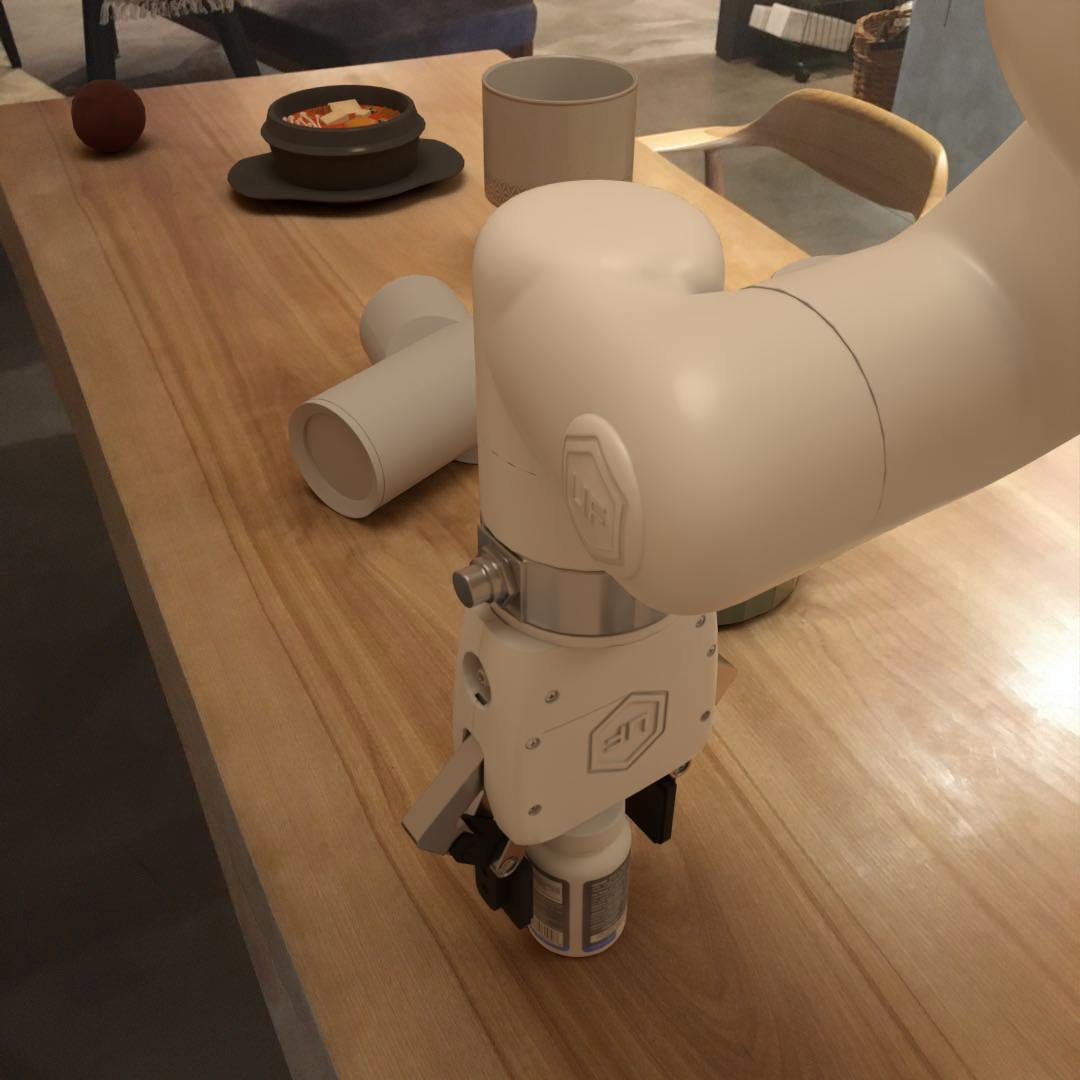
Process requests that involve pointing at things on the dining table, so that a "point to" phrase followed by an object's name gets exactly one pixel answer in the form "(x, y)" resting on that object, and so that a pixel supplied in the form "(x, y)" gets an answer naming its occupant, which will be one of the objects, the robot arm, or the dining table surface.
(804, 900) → the dining table surface
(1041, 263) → the robot arm
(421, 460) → the beige tubular fitting
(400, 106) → the casserole
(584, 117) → the planter
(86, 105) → the dark brown ball
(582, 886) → the pill bottle
